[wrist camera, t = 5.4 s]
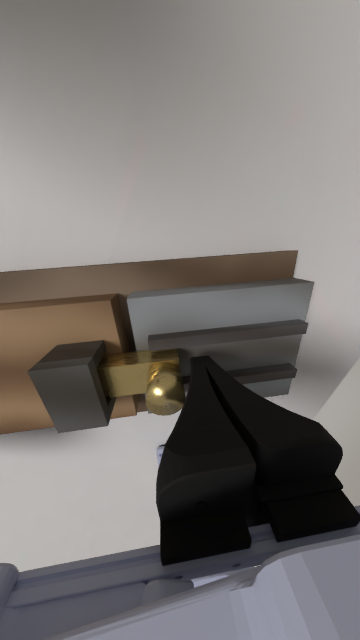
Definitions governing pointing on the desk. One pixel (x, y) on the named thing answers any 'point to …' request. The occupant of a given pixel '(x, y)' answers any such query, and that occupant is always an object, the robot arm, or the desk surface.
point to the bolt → (145, 378)
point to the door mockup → (143, 330)
